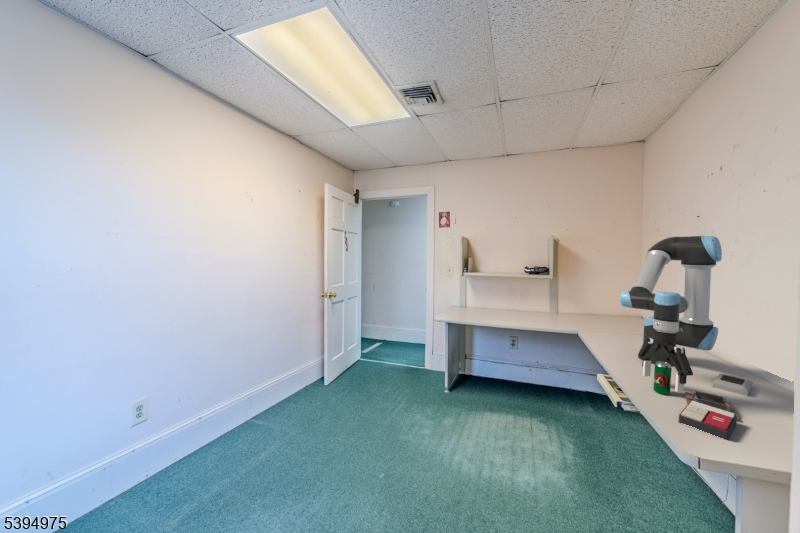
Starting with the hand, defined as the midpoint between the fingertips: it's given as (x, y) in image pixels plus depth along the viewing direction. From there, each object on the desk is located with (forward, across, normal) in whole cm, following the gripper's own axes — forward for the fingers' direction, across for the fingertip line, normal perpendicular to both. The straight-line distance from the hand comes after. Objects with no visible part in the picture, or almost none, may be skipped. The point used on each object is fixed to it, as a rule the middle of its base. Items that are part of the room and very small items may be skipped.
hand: (662, 383), depth 117 cm
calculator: (+4, +21, -6) cm, 22 cm away
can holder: (+4, +11, +7) cm, 14 cm away
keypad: (+4, -4, +36) cm, 36 cm away
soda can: (+4, 0, 0) cm, 4 cm away
